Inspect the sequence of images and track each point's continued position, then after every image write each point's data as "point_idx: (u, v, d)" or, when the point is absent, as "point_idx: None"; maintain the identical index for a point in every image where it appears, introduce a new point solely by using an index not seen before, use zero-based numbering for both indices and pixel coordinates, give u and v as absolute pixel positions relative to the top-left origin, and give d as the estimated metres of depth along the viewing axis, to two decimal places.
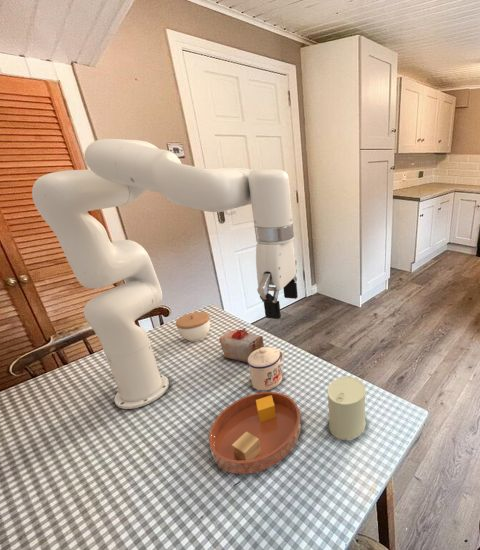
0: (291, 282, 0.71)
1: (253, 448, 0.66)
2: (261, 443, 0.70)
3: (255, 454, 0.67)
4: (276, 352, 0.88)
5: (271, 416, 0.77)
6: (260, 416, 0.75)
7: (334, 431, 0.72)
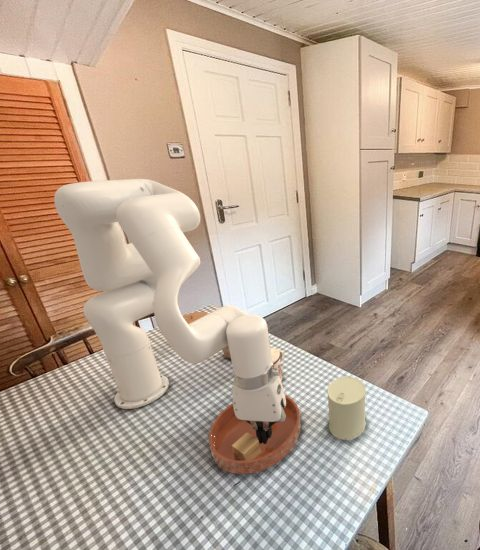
0: None
1: (253, 450, 0.66)
2: None
3: (255, 455, 0.67)
4: (276, 352, 0.88)
5: None
6: None
7: (334, 431, 0.72)
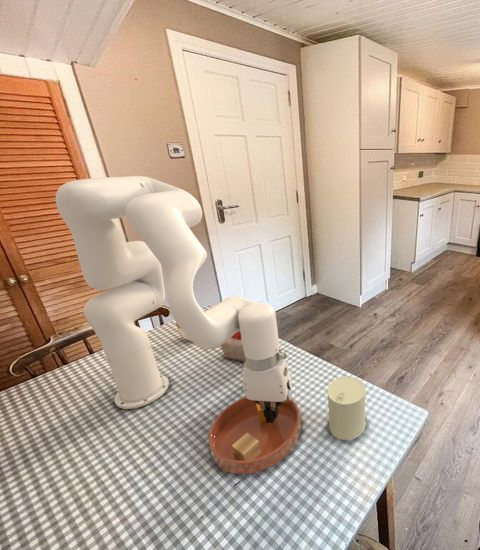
0: None
1: (253, 450, 0.66)
2: (261, 443, 0.70)
3: (255, 456, 0.67)
4: None
5: None
6: (260, 416, 0.75)
7: (334, 431, 0.72)
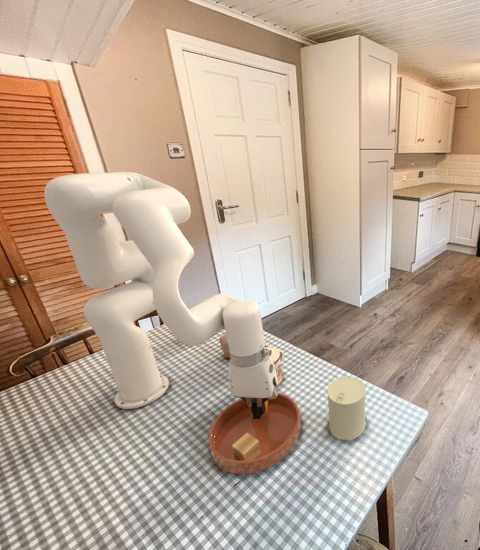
0: None
1: (253, 450, 0.66)
2: (261, 443, 0.70)
3: (255, 456, 0.67)
4: (276, 352, 0.88)
5: None
6: None
7: (334, 431, 0.72)
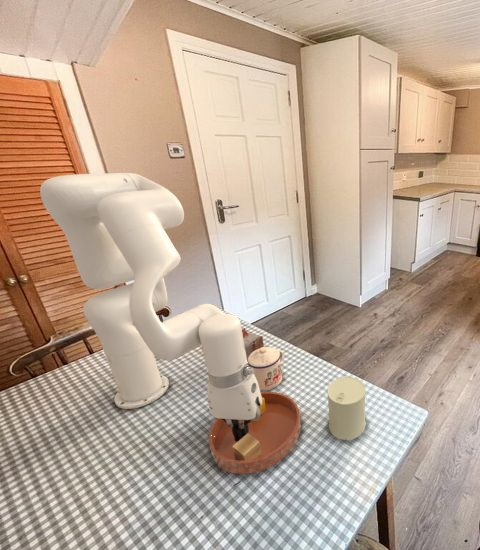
0: None
1: (253, 451, 0.66)
2: (261, 443, 0.70)
3: (255, 457, 0.66)
4: (276, 352, 0.88)
5: None
6: None
7: (334, 431, 0.72)
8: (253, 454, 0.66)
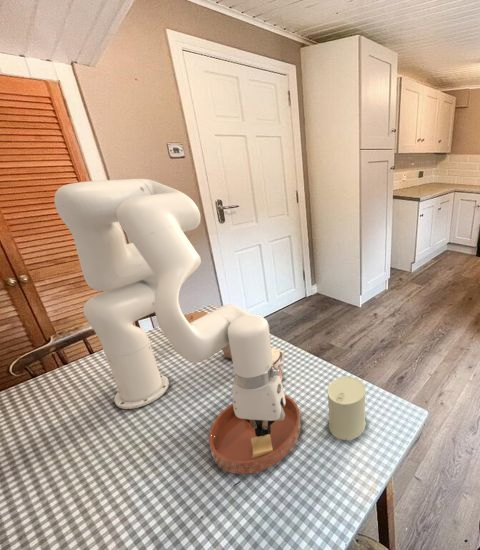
0: None
1: None
2: None
3: None
4: (276, 352, 0.88)
5: None
6: None
7: (334, 431, 0.72)
8: None
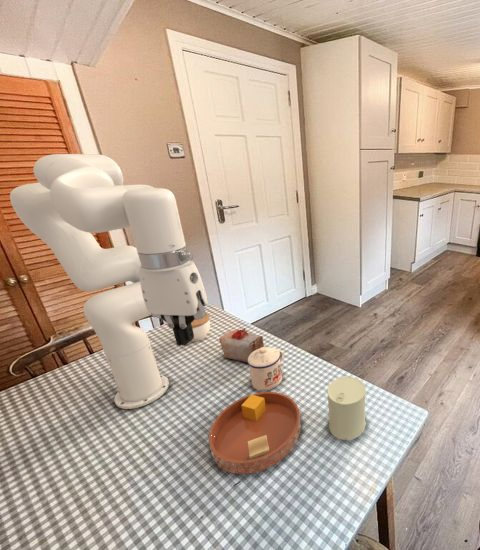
0: None
1: None
2: None
3: None
4: (276, 352, 0.88)
5: (252, 417, 0.76)
6: (243, 411, 0.77)
7: (334, 431, 0.72)
8: None
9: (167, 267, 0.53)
